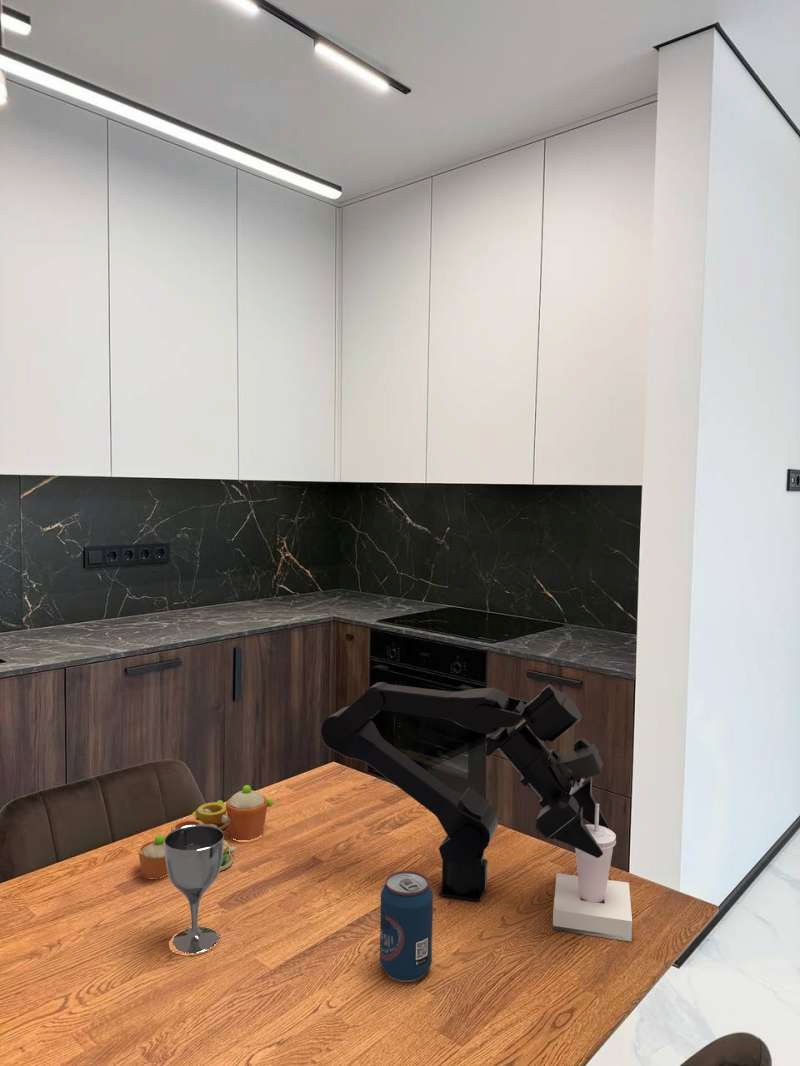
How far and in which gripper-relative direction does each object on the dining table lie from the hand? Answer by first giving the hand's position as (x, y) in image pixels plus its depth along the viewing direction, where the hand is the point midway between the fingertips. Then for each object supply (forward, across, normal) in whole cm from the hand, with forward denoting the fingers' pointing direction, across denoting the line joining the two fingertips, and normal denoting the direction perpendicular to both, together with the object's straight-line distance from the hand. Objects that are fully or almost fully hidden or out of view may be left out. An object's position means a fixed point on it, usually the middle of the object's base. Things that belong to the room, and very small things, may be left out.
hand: (603, 842), depth 115 cm
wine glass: (-29, -28, +46) cm, 61 cm away
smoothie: (+5, 0, +7) cm, 9 cm away
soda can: (-8, -22, +25) cm, 34 cm away
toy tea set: (-39, -4, +56) cm, 68 cm away
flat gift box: (+7, 0, +9) cm, 12 cm away
